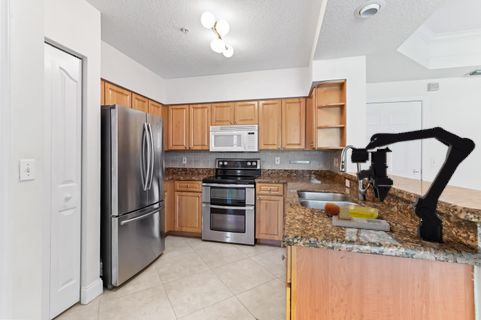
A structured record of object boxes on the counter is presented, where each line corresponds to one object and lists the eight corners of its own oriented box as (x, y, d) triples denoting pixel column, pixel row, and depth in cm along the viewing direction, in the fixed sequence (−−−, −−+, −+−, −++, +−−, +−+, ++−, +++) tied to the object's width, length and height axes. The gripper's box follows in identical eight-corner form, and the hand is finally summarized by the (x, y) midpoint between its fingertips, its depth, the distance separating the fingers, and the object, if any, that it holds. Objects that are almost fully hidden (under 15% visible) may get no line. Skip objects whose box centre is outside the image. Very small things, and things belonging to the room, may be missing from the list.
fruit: (318, 212, 120) (324, 199, 121) (327, 218, 122) (333, 205, 123) (328, 215, 112) (335, 201, 113) (339, 222, 114) (345, 208, 116)
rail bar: (385, 225, 99) (385, 219, 99) (389, 231, 92) (389, 224, 92) (332, 220, 108) (332, 215, 108) (332, 225, 100) (332, 219, 100)
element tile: (374, 223, 105) (374, 213, 105) (341, 218, 114) (341, 208, 114) (378, 216, 117) (378, 207, 117) (347, 212, 126) (347, 204, 126)
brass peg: (348, 223, 103) (348, 206, 103) (349, 225, 100) (349, 208, 100) (339, 222, 105) (339, 205, 105) (339, 225, 101) (339, 207, 101)
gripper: (354, 162, 104) (354, 195, 104) (360, 163, 87) (360, 203, 87) (382, 162, 100) (382, 197, 100) (393, 163, 83) (393, 205, 83)
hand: (378, 200), depth 93 cm, fingers open, 9 cm apart
